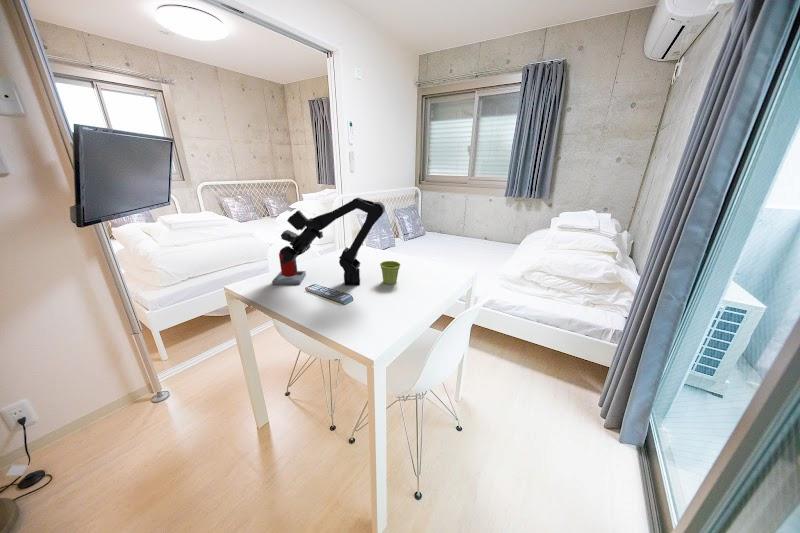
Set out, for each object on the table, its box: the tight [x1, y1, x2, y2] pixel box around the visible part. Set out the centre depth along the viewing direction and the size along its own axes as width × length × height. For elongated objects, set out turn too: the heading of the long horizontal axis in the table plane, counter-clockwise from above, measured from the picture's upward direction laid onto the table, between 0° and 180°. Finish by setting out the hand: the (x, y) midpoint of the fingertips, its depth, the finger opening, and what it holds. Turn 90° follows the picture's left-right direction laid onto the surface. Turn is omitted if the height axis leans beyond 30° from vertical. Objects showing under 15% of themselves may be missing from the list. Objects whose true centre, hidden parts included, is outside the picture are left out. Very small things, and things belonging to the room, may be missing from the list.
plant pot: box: [379, 260, 402, 285], centre depth 124 cm, size 9×9×9 cm
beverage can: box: [278, 252, 298, 277], centre depth 123 cm, size 7×7×12 cm
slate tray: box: [271, 270, 307, 286], centre depth 125 cm, size 12×12×2 cm
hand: (285, 261), depth 123 cm, fingers closed on beverage can, 7 cm apart
